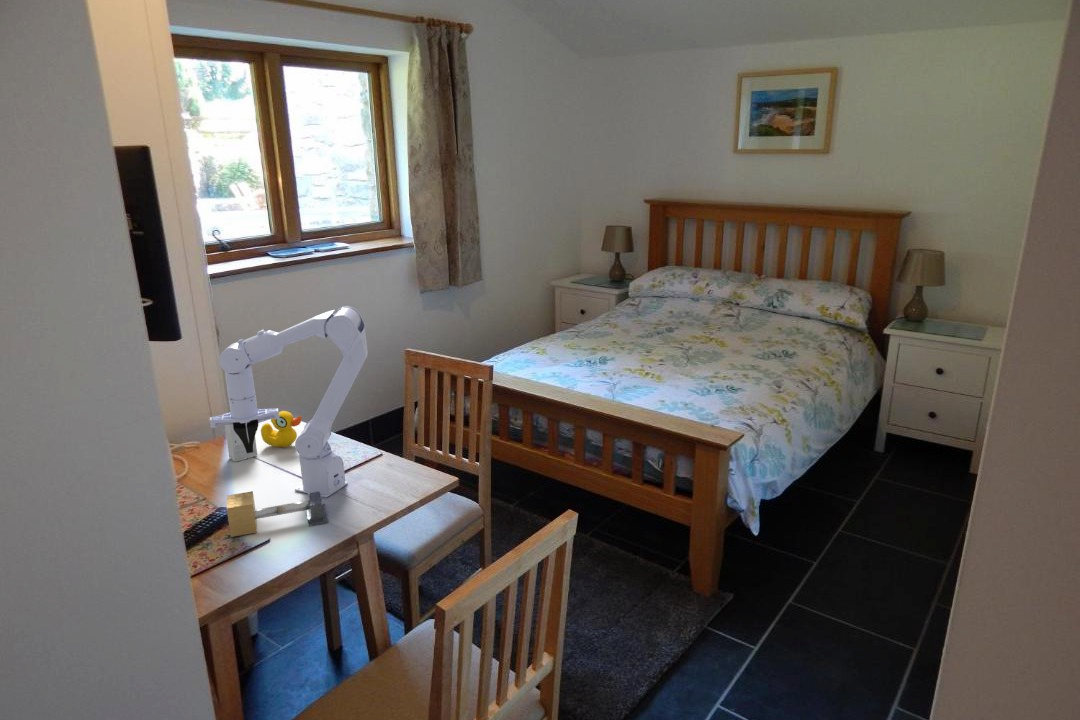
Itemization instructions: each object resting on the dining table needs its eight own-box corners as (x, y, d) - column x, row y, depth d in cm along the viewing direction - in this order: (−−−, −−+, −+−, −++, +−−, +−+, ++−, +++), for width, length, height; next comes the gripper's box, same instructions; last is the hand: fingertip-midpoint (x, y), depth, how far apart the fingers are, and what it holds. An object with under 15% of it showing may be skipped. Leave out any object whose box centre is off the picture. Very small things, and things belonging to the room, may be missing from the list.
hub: (256, 518, 154) (252, 491, 152) (256, 532, 148) (252, 503, 146) (231, 523, 152) (227, 495, 150) (231, 537, 147) (226, 508, 145)
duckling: (308, 442, 194) (304, 408, 191) (300, 451, 188) (296, 415, 185) (268, 441, 194) (263, 407, 192) (259, 450, 189) (254, 415, 186)
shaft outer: (278, 512, 153) (276, 504, 152) (278, 516, 151) (277, 508, 151) (232, 520, 150) (231, 511, 149) (232, 525, 148) (231, 516, 148)
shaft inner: (321, 504, 156) (321, 496, 156) (322, 508, 154) (321, 500, 154) (277, 512, 153) (276, 504, 152) (277, 516, 151) (276, 508, 151)
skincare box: (235, 462, 182) (228, 418, 178) (228, 457, 185) (221, 414, 181) (258, 455, 186) (252, 412, 182) (251, 450, 189) (245, 407, 186)
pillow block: (325, 505, 160) (323, 488, 158) (328, 522, 152) (326, 504, 151) (306, 509, 158) (304, 491, 157) (308, 526, 151) (306, 508, 150)
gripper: (205, 406, 155) (214, 463, 159) (276, 397, 160) (283, 452, 164) (207, 395, 161) (216, 451, 165) (275, 387, 166) (282, 441, 170)
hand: (249, 451), depth 165 cm, fingers closed
